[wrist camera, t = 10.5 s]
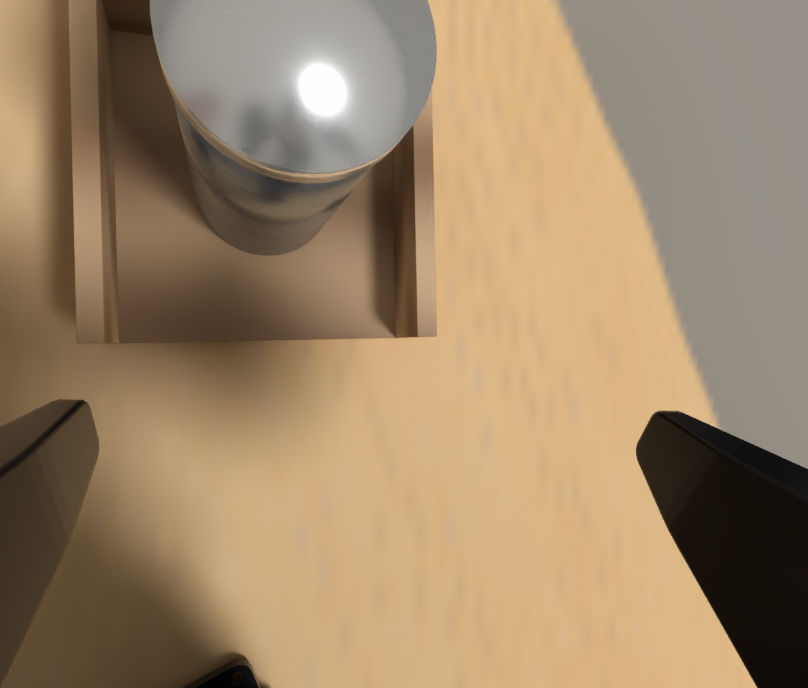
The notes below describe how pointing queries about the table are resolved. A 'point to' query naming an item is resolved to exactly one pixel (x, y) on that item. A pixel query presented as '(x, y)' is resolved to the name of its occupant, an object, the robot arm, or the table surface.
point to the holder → (196, 242)
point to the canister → (289, 104)
